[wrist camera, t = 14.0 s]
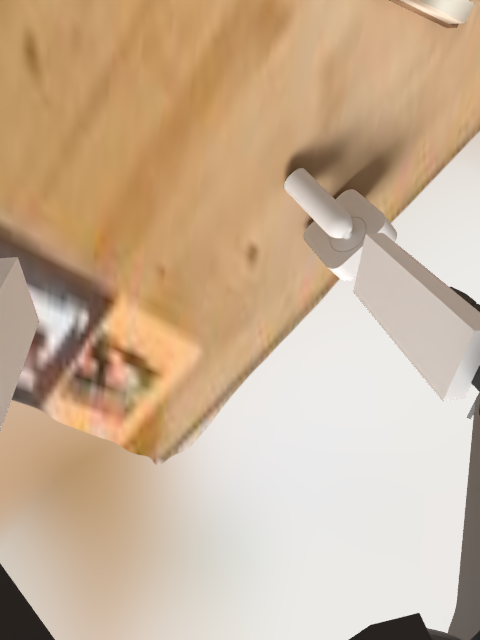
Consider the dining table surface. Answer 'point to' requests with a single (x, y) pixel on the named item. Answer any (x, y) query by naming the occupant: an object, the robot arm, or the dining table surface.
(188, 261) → the dining table surface
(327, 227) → the wall hook
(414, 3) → the display stand
